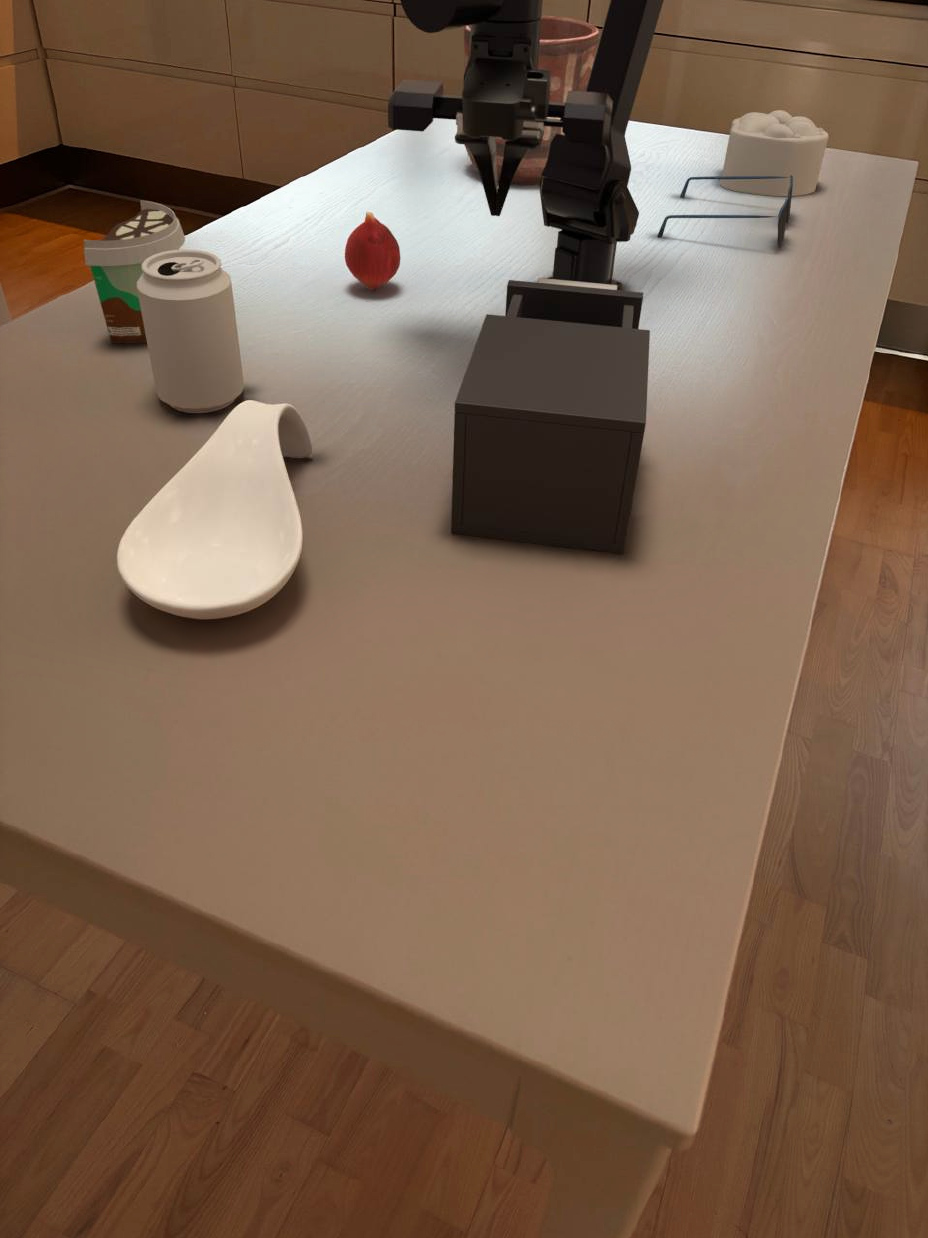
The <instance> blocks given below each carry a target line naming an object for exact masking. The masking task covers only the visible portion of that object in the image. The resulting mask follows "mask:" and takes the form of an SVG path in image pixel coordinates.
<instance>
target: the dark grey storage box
mask: <svg viewBox="0 0 928 1238" xmlns="http://www.w3.org/2000/svg"><path fill="white" fill-rule="evenodd" d="M650 338H651V330H650V329H640V328H638V329H632V328H622V327H612V326H602V325H591V324H581V323H571V322H561V321H551V320H540V319H530V318H520V317H510V316H505V315H498V314H485V317H484V320H483V323H482V325H481V328H480V331H479V334H478V337H477V340H476V342H475V345H474V347H473V351H472V354H471V356H470V359H469V362H468V365H467V367H466V370H465V373H464V376H463V379H462V382H461V383H460V387H459V390H458V392H457V395H456V398H455V401H454V416H453V417H454V418H453V420H454V421H453V450H452V451H453V452H452V485H451V488H452V489H451V521H450V522H451V524H450V533H451V534H455V535H456V534H457V535H464V536H473V537H480V538H481V537H482V538H489V539H495V540H497V539H498V540H505V541H514V542H521V543H531V544H539V545H547V546H554V547H555V546H556V547H562V548H563V547H564V548H569V549H570V548H571V549H579V550H589V551H597V552H604V553H605V552H606V553H612V554H619V555H623V554H625V548H626V542H627V536H628V532H629V525H630V520H631V513H632V507H633V502H634V495H635V490H636V484H637V478H638V472H639V466H640V461H641V455H642V448H643V444H644V443H643V442H644V437H645V431H646V424H647V410H648V407H647V406H648V385H649V363H650V340H651V339H650Z"/></svg>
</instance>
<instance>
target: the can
mask: <svg viewBox="0 0 928 1238" xmlns="http://www.w3.org/2000/svg"><path fill="white" fill-rule="evenodd" d="M142 271H143V272H144V273H143V274H142V276H141V277H140V278H139V280H138V281H137V291H138V296H139V301H140V307H141V312H142V318H143V323H144V328H145V334H146V339H147V342H146V344H147V348H148V355H149V360H150V366H151V371H152V377H153V381H154V387H155V393H156V395H157V397H158V398H159V400H160V401H162V402H164V403H166V404H167V405H169V406H170V407H171V408H173V409H175V410H177V411H178V412H184V413H187V414H206V413H212V412H216V411H220V410H223V409H226V408H227V407H229V406H230V405H231V404H233V403H234V402H235V400H236V399H237V398H238V397H239V396H240V395H241V394H242V393H243V391H244V389H245V381H244V374H243V365H242V358H241V349H240V341H239V333H238V325H237V317H236V309H235V301H234V300H235V299H234V291H233V285H232V284H233V283H232V278H231V275H230V274H229V273H228V272H227V271H225V270H224V269H223V268H222V260H221V258H219V257H218V256H217V255H216V254H215V253H211V252H208V251H205V250H199V249H189V248H188V249H187V248H186V249H179V250H171V251H165V252H161V253H158V254H155V255H152V256H151V257H149V258H147V259H146V260H145V261H144V262H143V263H142Z"/></svg>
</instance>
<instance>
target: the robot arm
mask: <svg viewBox="0 0 928 1238" xmlns="http://www.w3.org/2000/svg"><path fill="white" fill-rule="evenodd" d="M399 1H400V5H401V8H402V9H403V12H404V13H405V16H406V17H407V19H408V21H410V23H411V24H412V25H413V26H414V27H415V28H417V29H418V30H420V31H422V32H423V33H427V34H434V33H440V32H441V33H442V32H445V31H449V30H454V29H459V28H464V26H468V25H471V27H470V58H469V61H468V64H467V67H466V70H465V69H464V73H463V85H462V86H463V88H462V92H461V95H460V94H459V95H458V94H445V90H444V84H443V81H433V80H419V79H417V80H416V79H403V80H402V81H401V83H400V84H399V85H398V86H397V87H396V88H395V89H394V91H393V92H392V93H391V94H390V96H389V97H388V103H387V128H389V129H391V130H396V131H410V132H424V131H425V130H426V129H428V127H429V126H430V125H431V124H432V123H433V122H434V119H438V120H454V121H455V126H456V133H455V136H454V142H455V143H456V144H457V145H464V146H465V145H466V146H467V148H468V149H469V151H470V152H471V154H472V156H473V158H474V160H475V163H476V165H477V167H478V169H477V171H478V170H479V171H478V173H479V176H480V180H481V184H482V188H483V190H484V194H485V198H486V201H487V205H488V209H489V212H490V216H492V217H501V214H502V211H503V208H504V206H505V203H506V199H507V198H508V194H509V191H510V188H511V186H512V184H511V183H512V180H513V177H514V175H515V172H516V170H517V168H518V166H519V164H520V162H521V160H522V159H523V157H524V155H525V153H526V151H527V150H528V149H538V148H540V145H541V142H542V138H543V135H544V127H545V126H551V127H563V129H562V132H563V133H564V134H565V135H562V134H556V135H555V136H554V138H553V139H552V141H551V143H550V149H549V154H548V159H547V162H546V165H545V168H544V170H543V172H542V174H541V176H542V178H541V182H540V184H539V197H540V204H541V211H542V213H541V214H542V219H543V226H544V227H547V228H550V227H551V228H553V229H554V228H555V229H558V231H557V241H556V247H555V248H554V257H553V267H552V276H550V277H547V278H546V279H555V280H566V281H577V282H587V283H598V284H609V285H617V290H623V285H624V283H623V282H622V281H619V280H616V279H613V275H614V270H615V269H614V267H615V260H616V253H617V252H616V250H617V245H618V243H625V242H626V243H628V242H630V241H631V237H632V235H633V234H634V233H635V230H636V227H637V225H638V219H639V216H640V211H639V209H638V207H637V205H636V202H635V201H634V198H633V196H632V194H631V192H630V189H629V186H628V185H629V181H630V176H631V171H632V164H631V159H630V154H629V149H628V145H627V139H626V132H627V128H628V124H629V123H630V122H629V121H630V118H631V115H632V111H633V107H634V103H635V101H636V98H637V95H638V90H639V87H640V83H641V79H642V77H643V73H644V69H645V66H646V63H647V59H648V56H649V52H650V50H651V45H652V42H653V39H654V35H655V31H656V28H657V25H658V21H659V18H660V15H661V11H662V7H663V4H664V0H609V4H608V7H607V11H606V15H605V18H604V22H603V25H602V30H601V33H600V36H599V39H598V46H597V50H596V55H595V59H594V62H593V66H592V70H591V73H590V77H589V81H588V84H587V88H586V92H583V91H568V94H567V98H566V102H565V103H563V102H549V98H550V74H551V71H549V70H538V58H539V44H540V30H541V16H543V14H542V13H543V0H399ZM496 137H501V138H502V139H503V140H506V141H505V148H504V157H503V163H502V168H501V174H500V180H499V182H498V179H497V151H496Z"/></svg>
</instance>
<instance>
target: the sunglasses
mask: <svg viewBox="0 0 928 1238" xmlns="http://www.w3.org/2000/svg"><path fill="white" fill-rule="evenodd" d="M774 178H789V177H780V176H722V175H719V176H717V175H716V176H710V175H709V176H690V177H688V178H687V179H686V180H685V183H684V185H683V188H682V190H681V193H680V196H679V198H681V199H685V197H686V194H687V190H688V186H689V183H690V181H695V180H696V181H699V180H700V181H701V180H721V179H774ZM790 178H791V180H790V187H789V190H788V196H786V198H785V200H784V203H783V204H782V206H781V208H779V212H778V214H777V246H778V249H779V248H781V247H782V245H783V242H784V239H785V233H786V229H787V228H786V227H787V224H788V223H789V220H790V215H791V208H792V207H791V205H792V197H793V196H792V189H793V176H792V175H791V176H790ZM770 218H776V216H773V215H761V214H760V215H754V214H753V215H752V214H670V215H669V214H668V215H667V216H665V218H664V220H663V222H662V224H661V226H660V228H659V231H658V233H657V236H656V237H657V238H663V236H664V232H665V229H666V225H667V223H668V220H669V219H770Z"/></svg>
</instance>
